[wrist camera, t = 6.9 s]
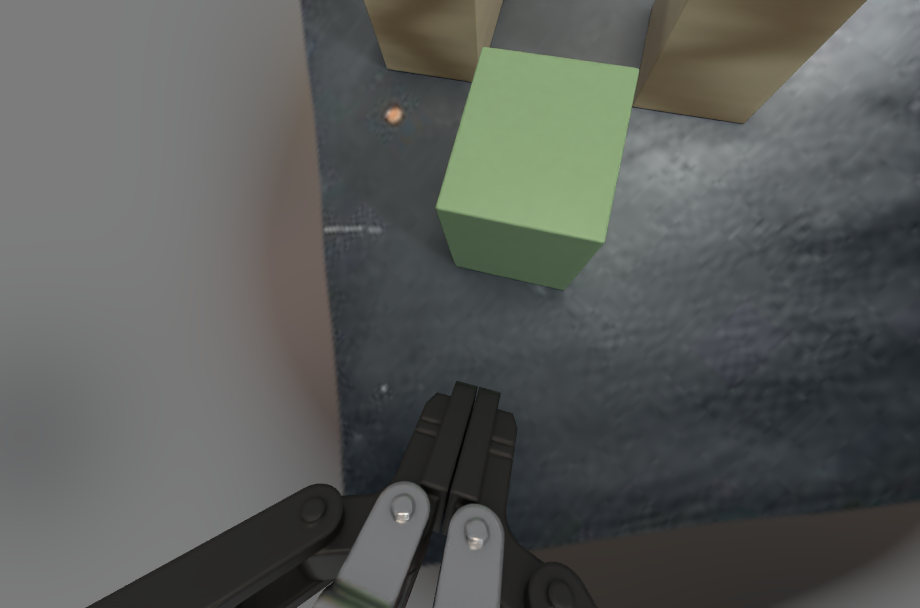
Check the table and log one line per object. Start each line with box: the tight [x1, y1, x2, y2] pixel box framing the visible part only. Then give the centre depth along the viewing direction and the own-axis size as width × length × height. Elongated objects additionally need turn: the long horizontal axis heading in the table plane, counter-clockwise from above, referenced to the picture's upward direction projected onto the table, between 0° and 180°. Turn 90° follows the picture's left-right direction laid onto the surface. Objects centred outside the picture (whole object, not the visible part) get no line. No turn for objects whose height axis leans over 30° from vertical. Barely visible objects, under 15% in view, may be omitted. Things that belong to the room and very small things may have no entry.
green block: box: [436, 47, 639, 290], centre depth 16 cm, size 6×7×7 cm
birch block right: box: [633, 0, 867, 124], centre depth 17 cm, size 6×7×7 cm
